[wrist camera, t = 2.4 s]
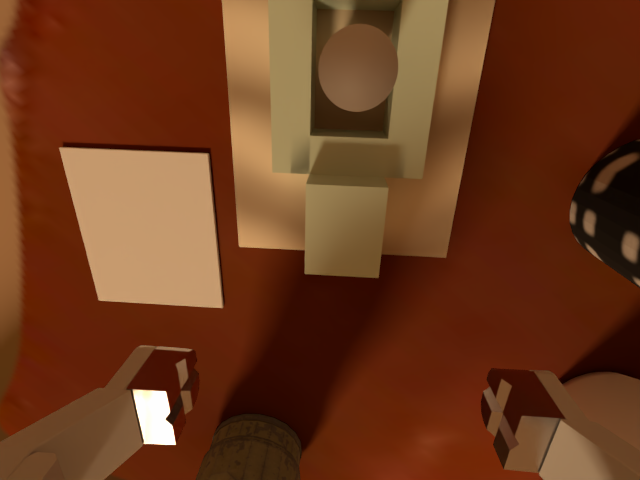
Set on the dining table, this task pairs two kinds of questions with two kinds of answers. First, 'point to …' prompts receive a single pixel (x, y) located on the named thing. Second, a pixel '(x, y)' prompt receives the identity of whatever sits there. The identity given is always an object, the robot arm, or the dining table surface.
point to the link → (351, 145)
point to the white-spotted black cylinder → (611, 211)
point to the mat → (147, 224)
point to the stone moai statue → (252, 450)
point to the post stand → (352, 119)
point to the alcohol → (609, 402)
